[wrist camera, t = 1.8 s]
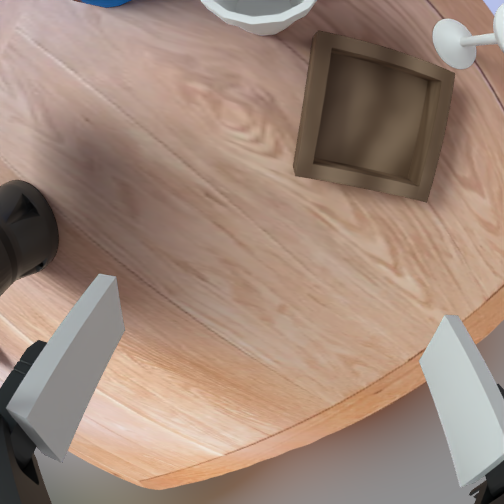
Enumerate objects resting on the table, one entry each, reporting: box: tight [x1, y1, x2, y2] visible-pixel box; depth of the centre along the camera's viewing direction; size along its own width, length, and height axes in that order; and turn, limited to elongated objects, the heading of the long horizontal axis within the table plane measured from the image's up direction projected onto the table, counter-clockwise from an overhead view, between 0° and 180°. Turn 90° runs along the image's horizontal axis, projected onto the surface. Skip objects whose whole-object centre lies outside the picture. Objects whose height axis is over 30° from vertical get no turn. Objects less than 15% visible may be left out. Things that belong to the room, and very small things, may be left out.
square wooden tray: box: [293, 31, 455, 202], centre depth 30 cm, size 15×15×4 cm
